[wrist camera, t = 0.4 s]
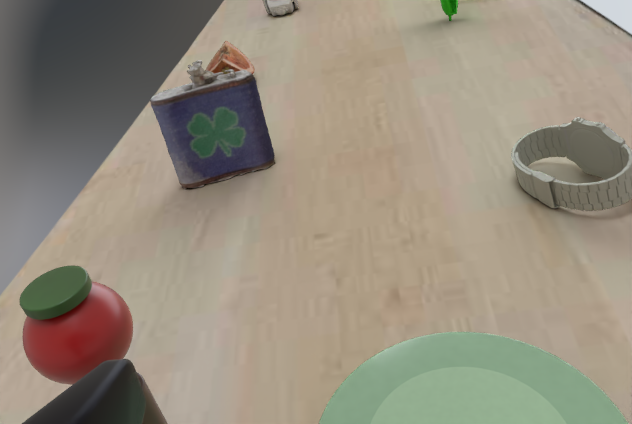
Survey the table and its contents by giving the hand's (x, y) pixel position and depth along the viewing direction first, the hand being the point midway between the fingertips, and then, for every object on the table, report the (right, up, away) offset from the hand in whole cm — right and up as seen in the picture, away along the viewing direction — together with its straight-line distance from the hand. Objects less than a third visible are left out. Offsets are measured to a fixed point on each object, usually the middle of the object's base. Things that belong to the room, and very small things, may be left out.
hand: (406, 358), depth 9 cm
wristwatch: (+17, +4, +32) cm, 36 cm away
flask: (-10, +6, +44) cm, 45 cm away
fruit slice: (-13, +19, +65) cm, 68 cm away
